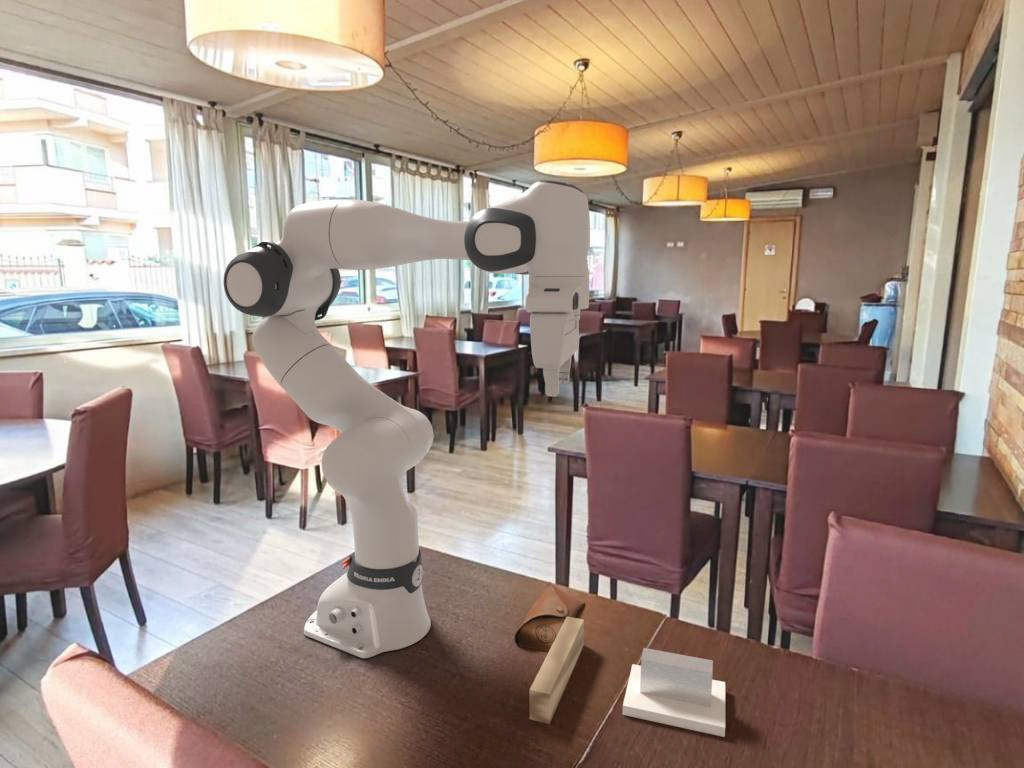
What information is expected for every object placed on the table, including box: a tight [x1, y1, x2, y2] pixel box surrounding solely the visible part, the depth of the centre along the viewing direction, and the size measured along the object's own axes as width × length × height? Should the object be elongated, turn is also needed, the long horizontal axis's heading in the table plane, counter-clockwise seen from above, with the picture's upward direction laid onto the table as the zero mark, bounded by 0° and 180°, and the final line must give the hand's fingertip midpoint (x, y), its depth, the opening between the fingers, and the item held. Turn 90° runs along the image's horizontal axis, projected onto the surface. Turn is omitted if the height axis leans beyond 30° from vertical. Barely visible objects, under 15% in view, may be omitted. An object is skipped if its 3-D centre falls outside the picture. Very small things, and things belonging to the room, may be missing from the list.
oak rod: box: [528, 616, 585, 725], centre depth 97 cm, size 3×20×5 cm, turn 160°
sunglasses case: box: [514, 581, 585, 652], centre depth 113 cm, size 18×7×7 cm
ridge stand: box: [622, 647, 726, 738], centre depth 91 cm, size 14×10×7 cm
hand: (558, 389), depth 93 cm, fingers open, 8 cm apart
